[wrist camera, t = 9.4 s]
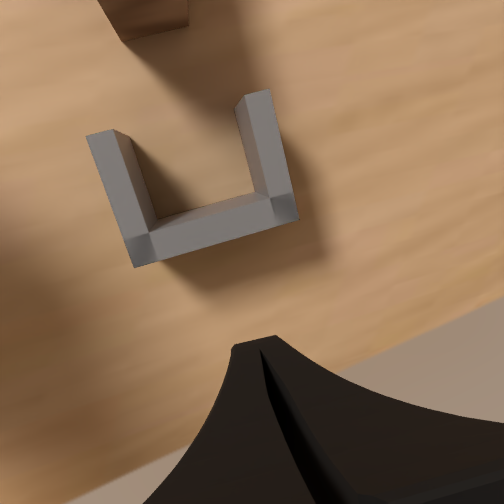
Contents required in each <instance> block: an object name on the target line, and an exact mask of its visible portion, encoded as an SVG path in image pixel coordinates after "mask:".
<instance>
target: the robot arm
mask: <svg viewBox="0 0 504 504" xmlns="http://www.w3.org/2000/svg"><path fill="white" fill-rule="evenodd" d="M143 504H504V423H499V422H492V421H486V420H480V419H474V418H467V417H462V416H457V415H453V414H448V413H444V412H440V411H435V410H431V409H427V408H423V407H420V406H416V405H412V404H409V403H406V402H403V401H400V400H396V399H393V398H390V397H387V396H384V395H381V394H379V393H376V392H373V391H370V390H368V389H366V388H364V387H361V386H359V385H357V384H354V383H352V382H350V381H348V380H346V379H343V378H341V377H339V376H338V375H336V374H334V373H332V372H330V371H328V370H327V369H325V368H323V367H321V366H320V365H318V364H316V363H315V362H313V361H312V360H310V359H309V358H307V357H306V356H304V355H303V354H301V353H300V352H298V351H297V350H296V349H294V348H293V347H291V346H290V345H289V344H287V343H286V342H285V341H283V340H282V339H281V338H279V337H278V336H276V335H273V336H269V337H265V338H260V339H256V340H252V341H247V342H243V343H239V344H234V346H233V347H232V348H231V357H230V362H229V365H228V369H227V372H226V375H225V378H224V381H223V384H222V387H221V389H220V392H219V394H218V396H217V398H216V401H215V403H214V405H213V407H212V409H211V411H210V413H209V415H208V417H207V419H206V421H205V423H204V424H203V426H202V428H201V430H200V431H199V433H198V435H197V436H196V438H195V439H194V441H193V442H192V444H191V445H190V447H189V448H188V450H187V451H186V453H185V454H184V456H183V457H182V458H181V460H180V461H179V463H178V464H177V465H176V467H175V468H174V469H173V470H172V472H171V473H170V474H169V475H168V476H167V478H166V479H165V480H164V481H163V482H162V483H161V485H160V486H159V487H158V488H157V489H156V490H155V491H154V492H153V493H152V494H151V496H150V497H149V498H148V499H147V500H146V501H145V502H144V503H143Z"/></svg>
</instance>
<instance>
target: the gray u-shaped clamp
mask: <svg viewBox="0 0 504 504" xmlns="http://www.w3.org/2000/svg"><path fill="white" fill-rule="evenodd" d="M234 111H235V115H236V119H237V123H238V127H239V131H240V135H241V138H242V142H243V146H244V150H245V154H246V158H247V162H248V166H249V170H250V173H251V177H252V181H253V185H254V189H255V192H253V193H249V194H246V195H242V196H239V197H235V198H232V199H228V200H225V201H221V202H218V203H214V204H211V205H207V206H203V207H200V208H196V209H193V210H189V211H186V212H182V213H179V214H175V215H172V216H168V217H165V218H161V219H157V217H156V214H155V211H154V208H153V205H152V202H151V199H150V196H149V193H148V190H147V187H146V184H145V181H144V178H143V175H142V172H141V170H140V167H139V164H138V161H137V158H136V155H135V152H134V149H133V146H132V143H131V140H130V137H129V136H128V135H125V134H123V133H121V132H118V131H116V130H114V129H111V130H107V131H103V132H99V133H95V134H91V135H88V136H86V139H87V142H88V144H89V147H90V150H91V153H92V155H93V158H94V161H95V163H96V166H97V169H98V172H99V174H100V177H101V180H102V182H103V185H104V188H105V191H106V193H107V196H108V199H109V201H110V204H111V207H112V210H113V212H114V215H115V218H116V221H117V223H118V226H119V229H120V231H121V234H122V237H123V240H124V242H125V245H126V248H127V250H128V253H129V256H130V259H131V261H132V264H133V267H134V268H137V267H140V266H143V265H147V264H150V263H154V262H157V261H160V260H164V259H167V258H171V257H174V256H178V255H181V254H184V253H188V252H191V251H195V250H198V249H201V248H205V247H208V246H212V245H215V244H219V243H222V242H225V241H229V240H232V239H236V238H239V237H242V236H246V235H249V234H253V233H256V232H260V231H263V230H266V229H270V228H273V227H277V226H280V225H283V224H287V223H290V222H294V221H297V220H300V219H299V215H298V211H297V206H296V202H295V198H294V193H293V189H292V184H291V180H290V176H289V171H288V167H287V163H286V158H285V154H284V150H283V145H282V141H281V136H280V132H279V128H278V123H277V119H276V115H275V110H274V106H273V102H272V97H271V93H270V89H266V90H262V91H258V92H254V93H250V94H246V95H244V96H243V97H242V99H241V100H240V101H239V103H238V104H237V106H236V107H235V108H234Z"/></svg>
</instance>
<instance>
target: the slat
mask: <svg viewBox="0 0 504 504" xmlns="http://www.w3.org/2000/svg"><path fill="white" fill-rule="evenodd" d="M98 2H99V4H100V6H101V7H102V9H103V11H104V12H105V14H106V16H107V18H108V19H109V21H110V23H111V24H112V26H113V28H114V29H115V31H116V33H117V35H118V36H119V38H120V40H121V41H122V42H123V41H127V40H131V39H135V38H140V37H144V36H148V35H152V34H157V33H161V32H165V31H170V30H174V29H178V28H182V27H187V26H189V20H188V0H98Z"/></svg>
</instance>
